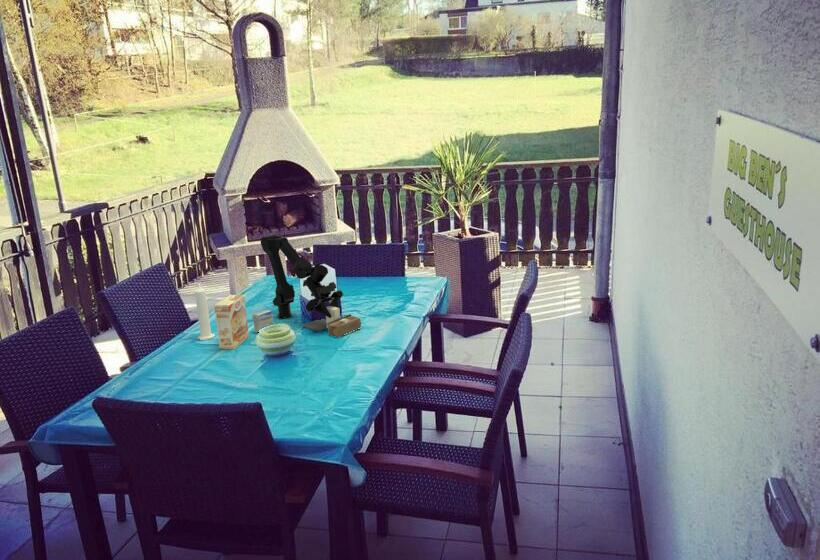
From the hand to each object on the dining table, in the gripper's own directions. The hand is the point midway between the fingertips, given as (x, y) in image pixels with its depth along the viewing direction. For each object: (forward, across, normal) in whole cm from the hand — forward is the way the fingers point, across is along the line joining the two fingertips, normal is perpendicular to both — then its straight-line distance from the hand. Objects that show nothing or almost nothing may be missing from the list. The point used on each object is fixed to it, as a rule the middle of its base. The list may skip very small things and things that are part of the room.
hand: (335, 315), depth 296 cm
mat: (-3, 0, +12) cm, 12 cm away
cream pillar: (+4, 0, +6) cm, 7 cm away
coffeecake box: (-13, -36, +23) cm, 44 cm away
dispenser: (+9, 0, +1) cm, 9 cm away
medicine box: (-14, -19, +24) cm, 34 cm away
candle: (-25, -39, +35) cm, 58 cm away
